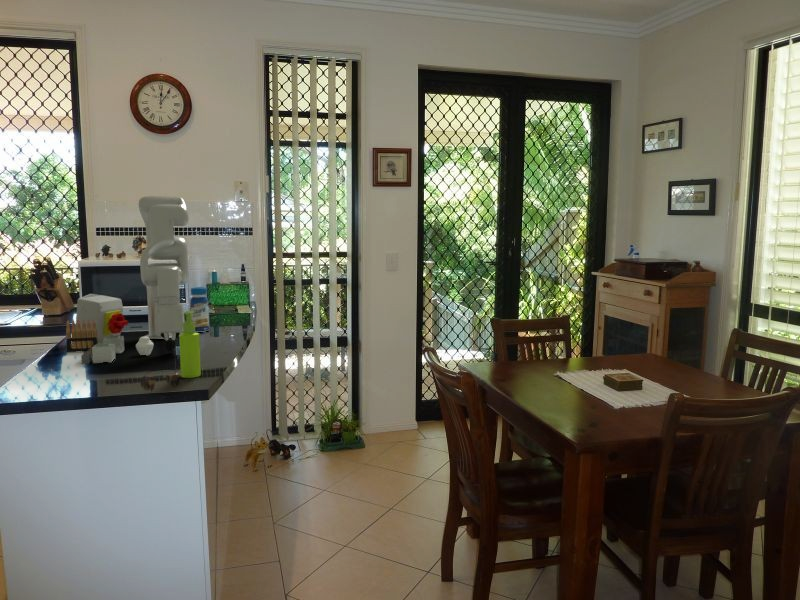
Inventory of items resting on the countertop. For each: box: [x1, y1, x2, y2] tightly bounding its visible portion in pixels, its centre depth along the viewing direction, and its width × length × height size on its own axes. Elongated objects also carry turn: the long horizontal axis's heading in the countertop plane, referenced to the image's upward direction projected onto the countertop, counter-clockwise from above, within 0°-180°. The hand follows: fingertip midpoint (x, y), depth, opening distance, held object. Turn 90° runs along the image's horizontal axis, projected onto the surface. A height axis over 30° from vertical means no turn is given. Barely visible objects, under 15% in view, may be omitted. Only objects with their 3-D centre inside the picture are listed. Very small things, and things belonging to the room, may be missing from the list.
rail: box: [80, 334, 125, 365], centre depth 222 cm, size 24×9×6 cm, turn 14°
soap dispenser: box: [178, 310, 202, 379], centre depth 192 cm, size 6×7×20 cm
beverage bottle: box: [189, 286, 211, 331], centre depth 278 cm, size 8×8×20 cm
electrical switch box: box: [75, 293, 129, 345], centre depth 251 cm, size 15×15×20 cm
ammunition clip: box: [65, 319, 98, 353], centre depth 233 cm, size 11×2×12 cm, turn 108°
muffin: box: [135, 335, 155, 356], centre depth 226 cm, size 6×6×7 cm
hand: (171, 350), depth 228 cm, fingers closed
